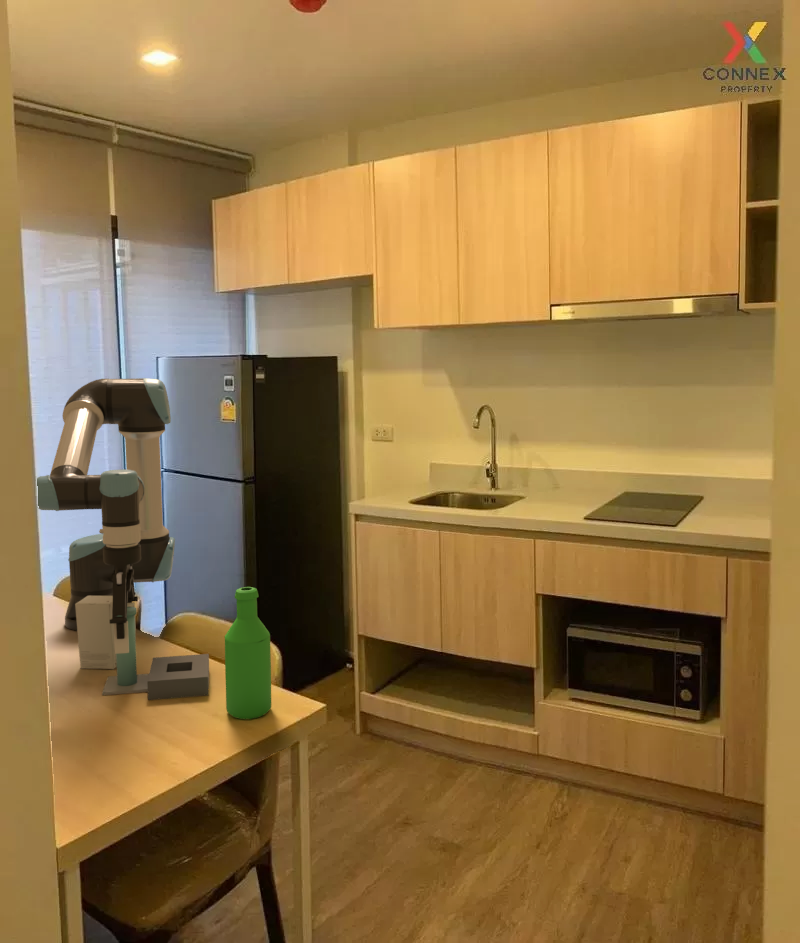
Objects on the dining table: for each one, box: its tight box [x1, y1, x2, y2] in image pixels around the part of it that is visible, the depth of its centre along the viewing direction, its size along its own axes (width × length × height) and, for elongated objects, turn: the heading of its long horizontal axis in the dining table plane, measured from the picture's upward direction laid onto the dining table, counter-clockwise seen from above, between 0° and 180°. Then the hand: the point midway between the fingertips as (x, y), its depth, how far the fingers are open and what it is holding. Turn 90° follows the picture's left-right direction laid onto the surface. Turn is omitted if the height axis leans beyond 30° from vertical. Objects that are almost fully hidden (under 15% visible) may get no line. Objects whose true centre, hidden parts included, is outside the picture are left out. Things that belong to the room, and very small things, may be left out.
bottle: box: [224, 586, 272, 720], centre depth 160 cm, size 9×9×25 cm
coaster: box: [101, 673, 149, 696], centre depth 175 cm, size 9×9×1 cm
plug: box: [116, 606, 138, 686], centre depth 174 cm, size 5×5×16 cm
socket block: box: [147, 653, 210, 701], centre depth 175 cm, size 14×12×4 cm
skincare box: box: [75, 596, 117, 670], centre depth 186 cm, size 8×7×16 cm
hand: (125, 642), depth 174 cm, fingers open, 13 cm apart
